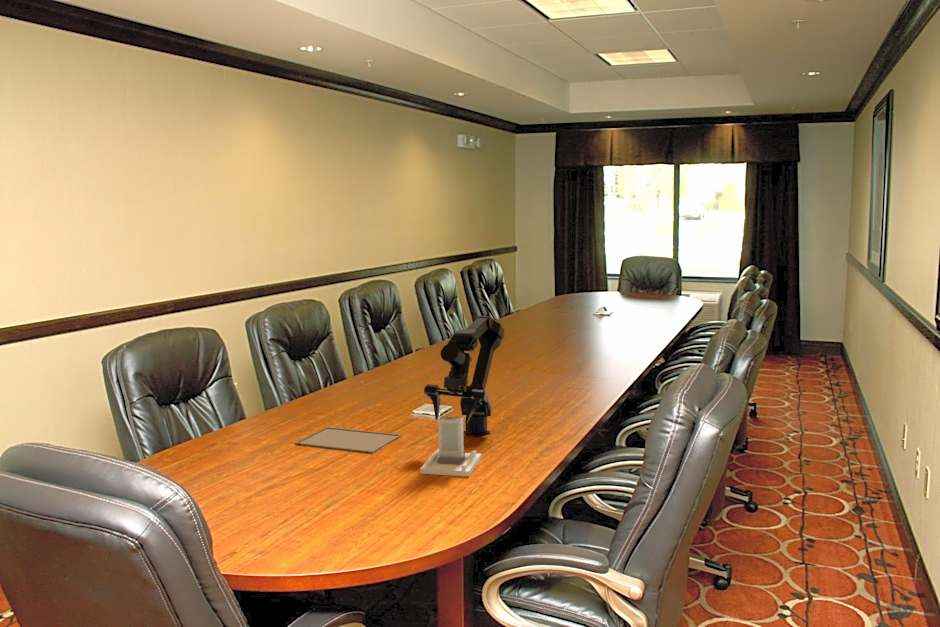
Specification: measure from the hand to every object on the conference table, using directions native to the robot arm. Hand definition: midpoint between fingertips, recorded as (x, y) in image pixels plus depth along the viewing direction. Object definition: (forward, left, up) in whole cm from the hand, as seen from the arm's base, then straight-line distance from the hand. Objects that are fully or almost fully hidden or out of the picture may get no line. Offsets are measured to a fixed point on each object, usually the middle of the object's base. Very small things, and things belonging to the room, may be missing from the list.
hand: (451, 421), depth 250 cm
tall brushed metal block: (+8, +9, -8) cm, 15 cm away
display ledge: (+8, +9, -10) cm, 16 cm away
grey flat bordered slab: (+16, -33, -10) cm, 38 cm away
